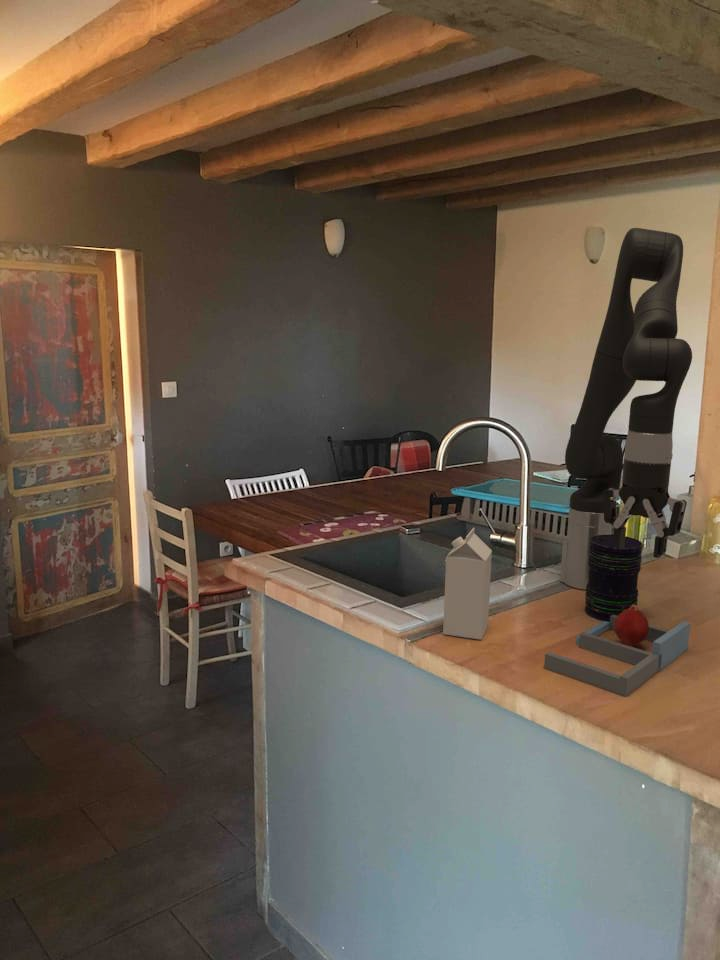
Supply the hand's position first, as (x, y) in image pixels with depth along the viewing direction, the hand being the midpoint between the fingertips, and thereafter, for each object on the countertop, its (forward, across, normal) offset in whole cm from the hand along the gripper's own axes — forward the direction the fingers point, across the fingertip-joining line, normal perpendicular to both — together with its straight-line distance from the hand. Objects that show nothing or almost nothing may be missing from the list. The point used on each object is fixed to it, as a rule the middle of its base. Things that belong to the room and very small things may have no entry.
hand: (638, 552), depth 134 cm
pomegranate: (+18, 0, 0) cm, 18 cm away
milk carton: (+18, -25, -15) cm, 34 cm away
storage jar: (+18, -10, +13) cm, 24 cm away
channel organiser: (+18, 0, -6) cm, 19 cm away
